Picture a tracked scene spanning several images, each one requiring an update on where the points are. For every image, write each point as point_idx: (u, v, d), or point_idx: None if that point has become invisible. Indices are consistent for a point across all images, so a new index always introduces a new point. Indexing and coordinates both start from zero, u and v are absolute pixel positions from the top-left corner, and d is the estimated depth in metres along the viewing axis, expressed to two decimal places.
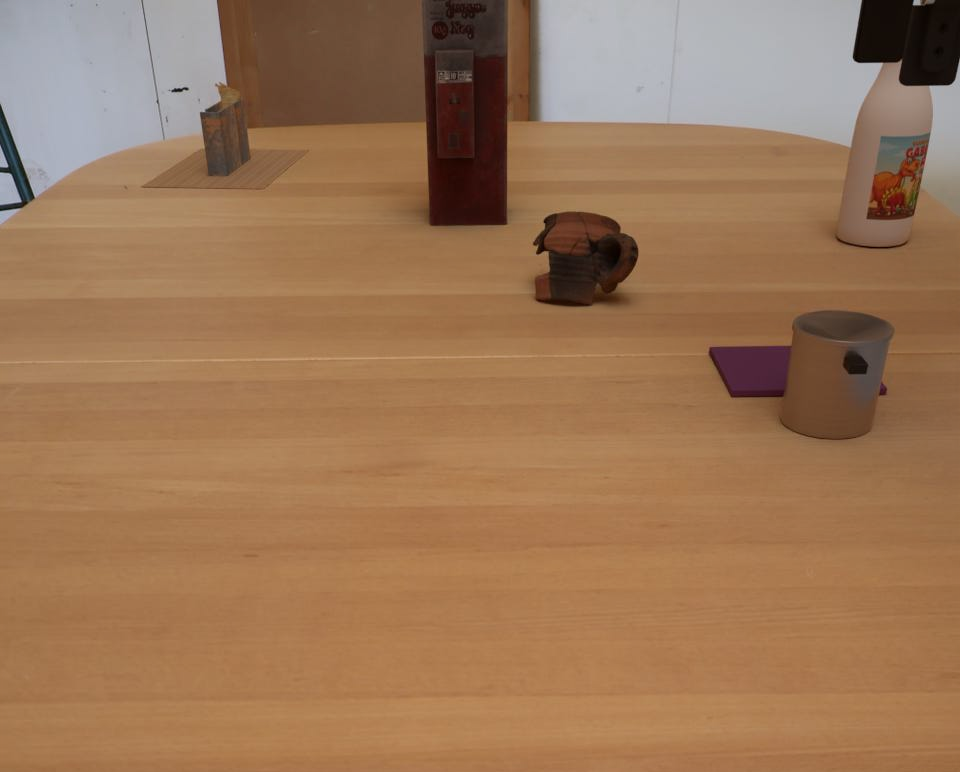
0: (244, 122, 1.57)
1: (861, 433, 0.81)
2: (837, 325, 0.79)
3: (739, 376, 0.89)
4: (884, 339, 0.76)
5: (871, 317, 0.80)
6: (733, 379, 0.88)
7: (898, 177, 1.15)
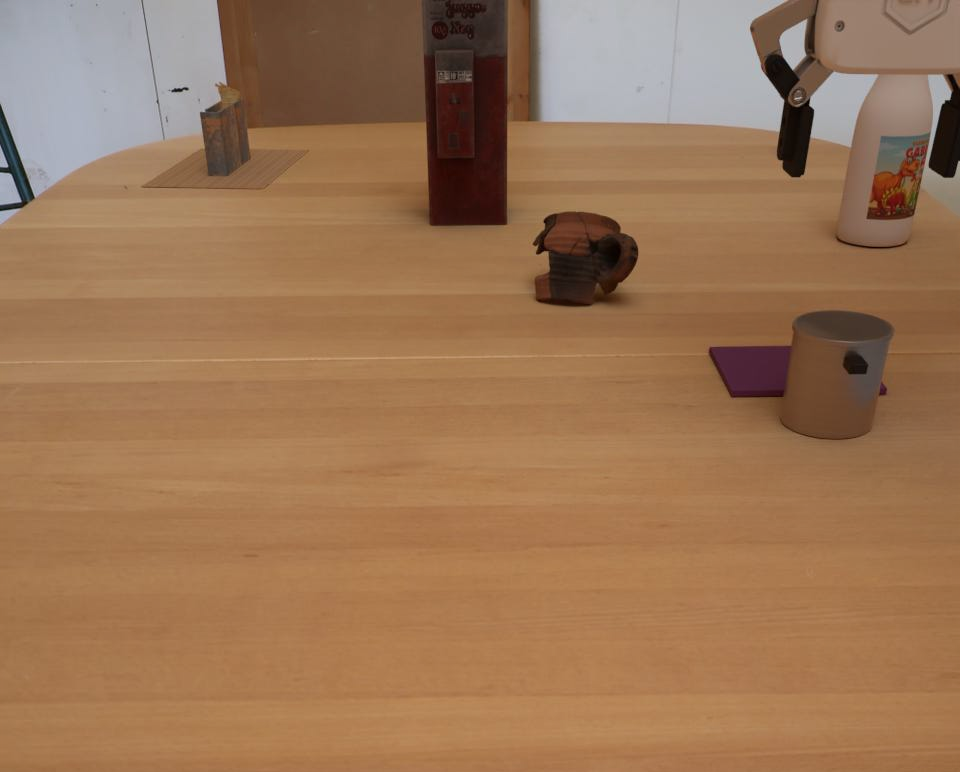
0: (244, 122, 1.57)
1: (861, 433, 0.81)
2: (837, 325, 0.79)
3: (739, 376, 0.89)
4: (884, 339, 0.76)
5: (871, 317, 0.80)
6: (733, 379, 0.88)
7: (898, 177, 1.15)
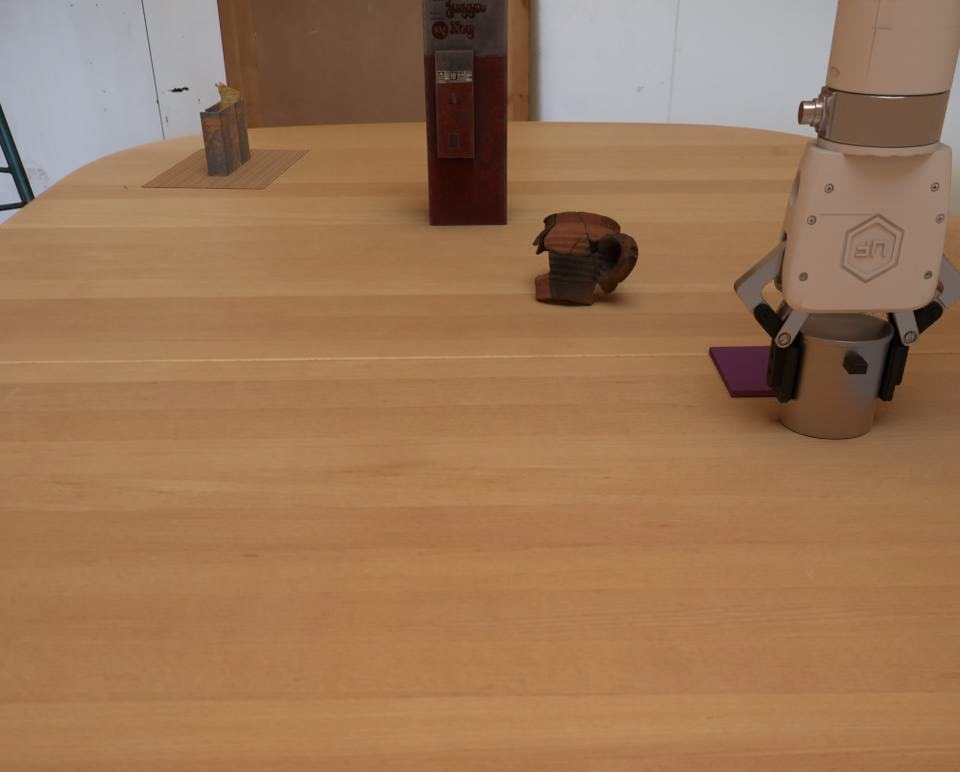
0: (244, 122, 1.57)
1: (861, 433, 0.81)
2: (837, 325, 0.79)
3: (739, 376, 0.89)
4: (884, 339, 0.76)
5: (871, 317, 0.80)
6: (733, 379, 0.88)
7: None
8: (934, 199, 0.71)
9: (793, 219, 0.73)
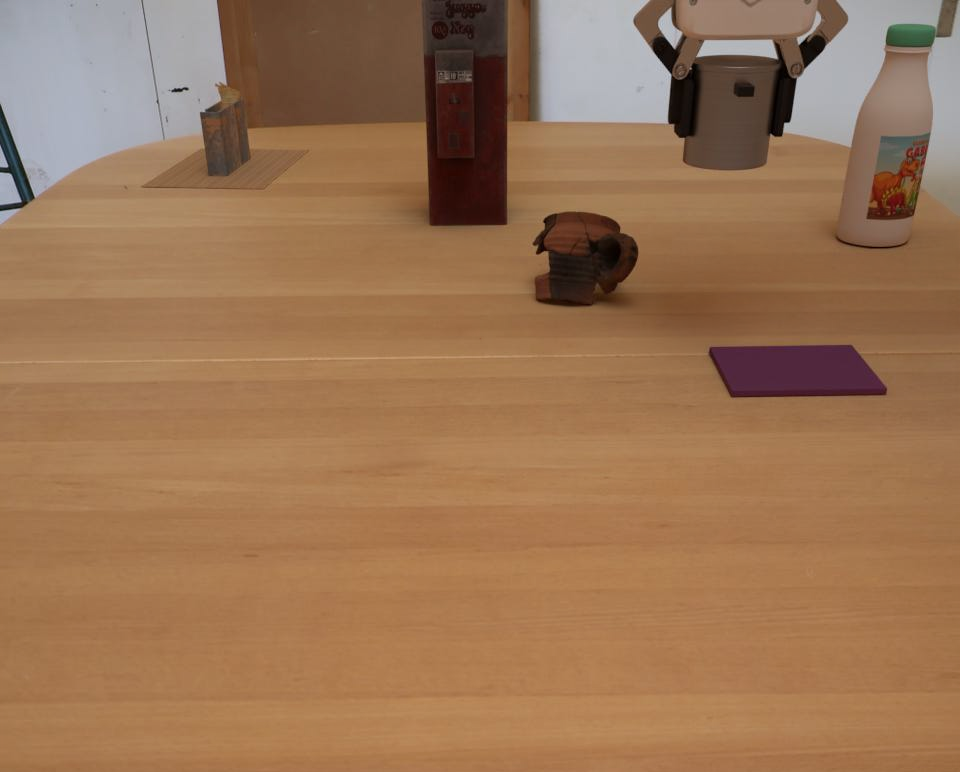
0: (244, 122, 1.57)
1: (754, 166, 0.87)
2: (730, 60, 0.85)
3: (739, 376, 0.89)
4: (771, 66, 0.83)
5: (763, 57, 0.87)
6: (733, 379, 0.88)
7: (898, 177, 1.15)
8: None
9: None
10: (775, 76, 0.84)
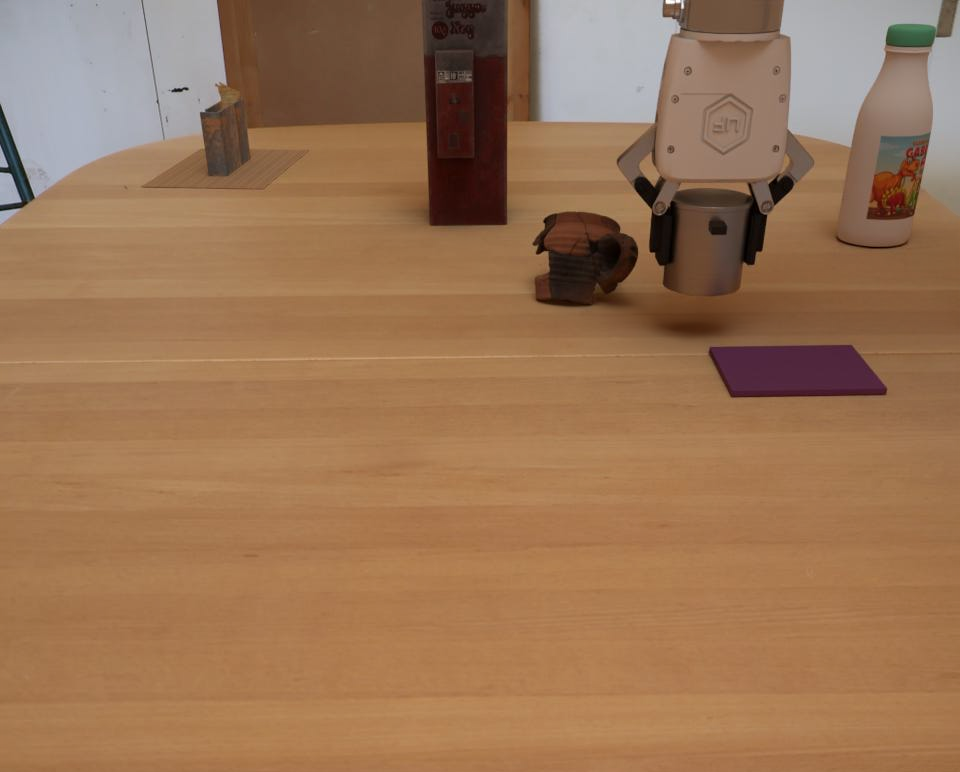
0: (244, 122, 1.57)
1: (728, 292, 0.94)
2: (706, 197, 0.93)
3: (739, 376, 0.89)
4: (742, 206, 0.90)
5: (736, 192, 0.94)
6: (733, 379, 0.88)
7: (898, 177, 1.15)
8: (776, 81, 0.85)
9: (661, 100, 0.87)
10: (747, 213, 0.92)
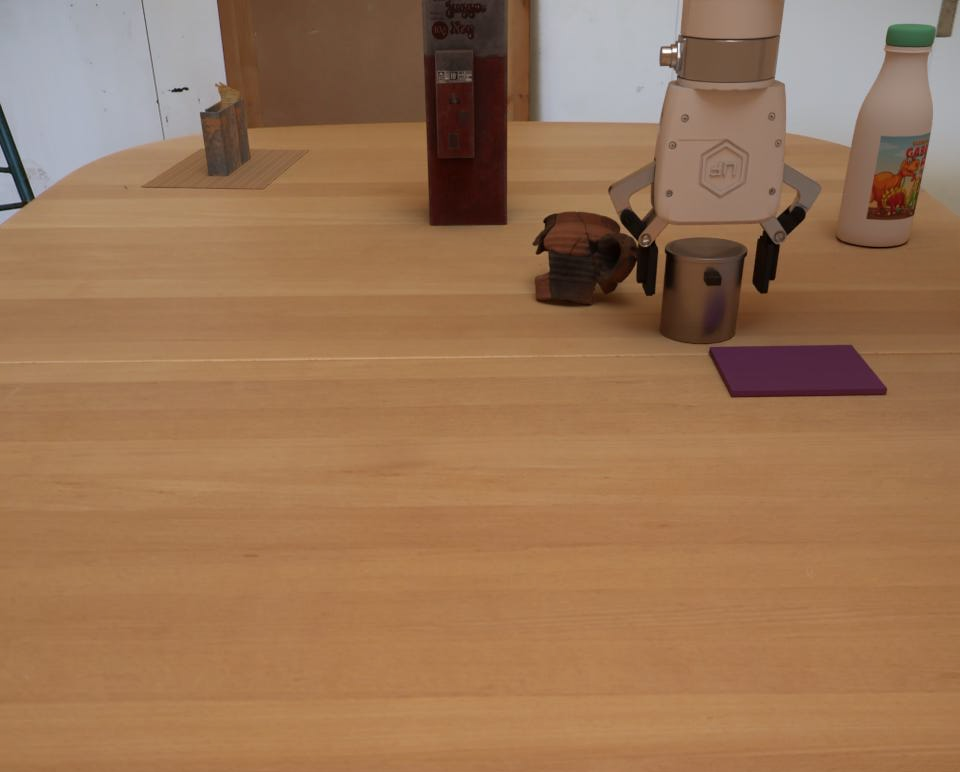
0: (244, 122, 1.57)
1: (724, 339, 0.97)
2: (701, 247, 0.95)
3: (739, 376, 0.89)
4: (736, 257, 0.93)
5: (731, 242, 0.96)
6: (733, 379, 0.88)
7: (898, 177, 1.15)
8: (772, 127, 0.87)
9: (659, 145, 0.89)
10: (741, 263, 0.94)
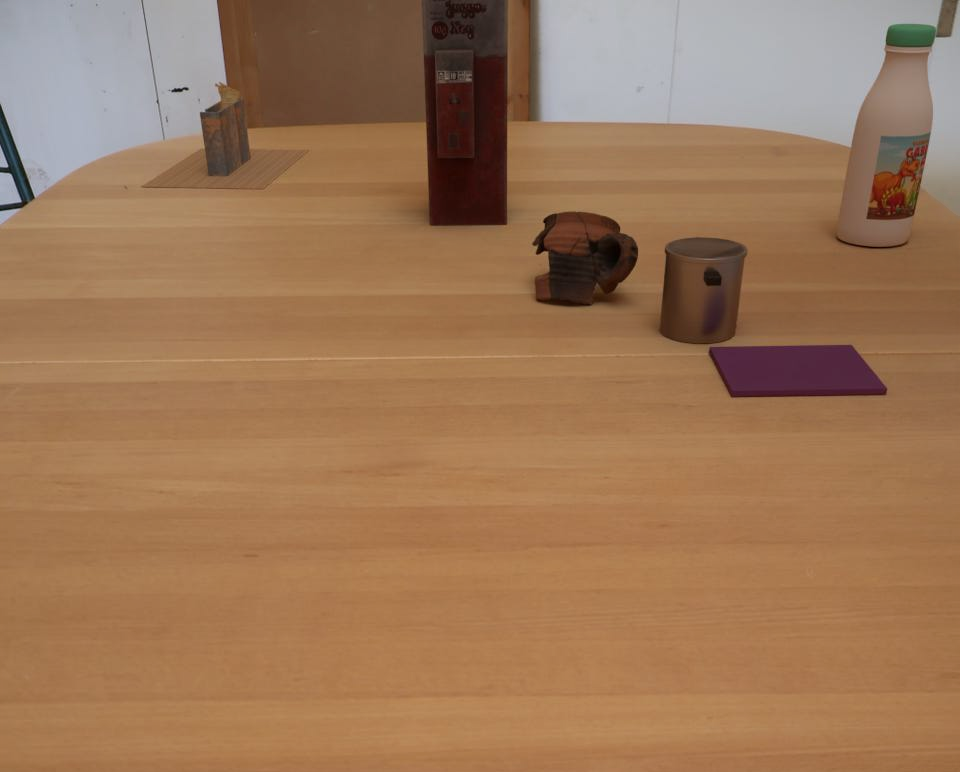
0: (244, 122, 1.57)
1: (724, 339, 0.97)
2: (701, 247, 0.95)
3: (739, 376, 0.89)
4: (736, 257, 0.93)
5: (731, 242, 0.96)
6: (733, 379, 0.88)
7: (898, 177, 1.15)
8: None
9: None
10: (741, 263, 0.94)
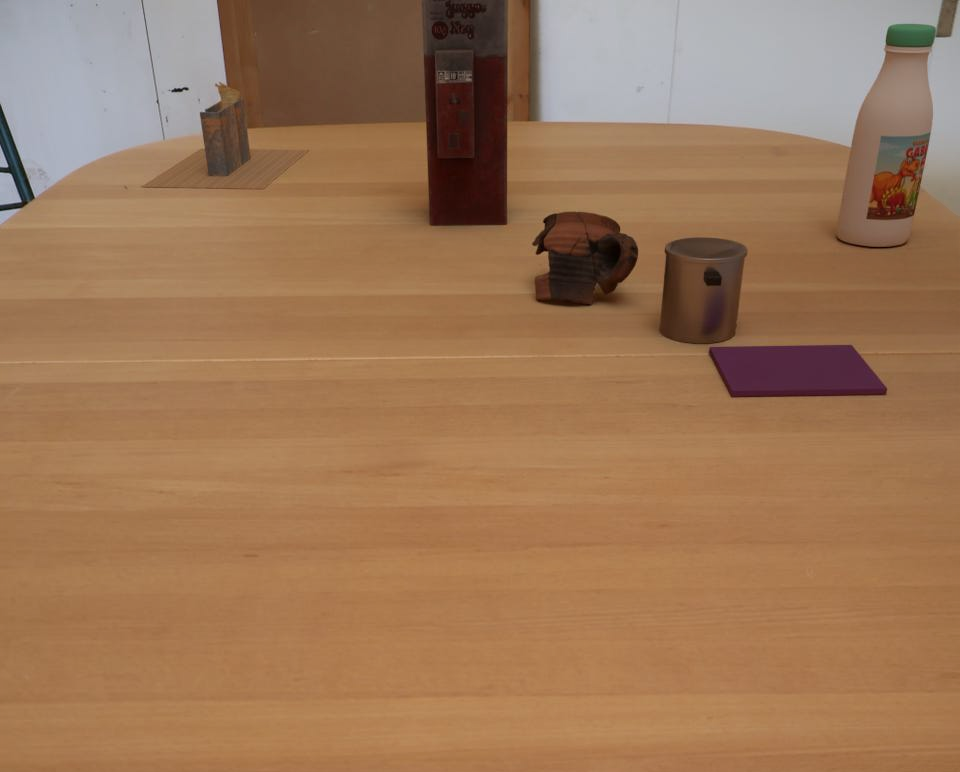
0: (244, 122, 1.57)
1: (724, 339, 0.97)
2: (701, 247, 0.95)
3: (739, 376, 0.89)
4: (736, 257, 0.93)
5: (731, 242, 0.96)
6: (733, 379, 0.88)
7: (898, 177, 1.15)
8: None
9: None
10: (741, 263, 0.94)
